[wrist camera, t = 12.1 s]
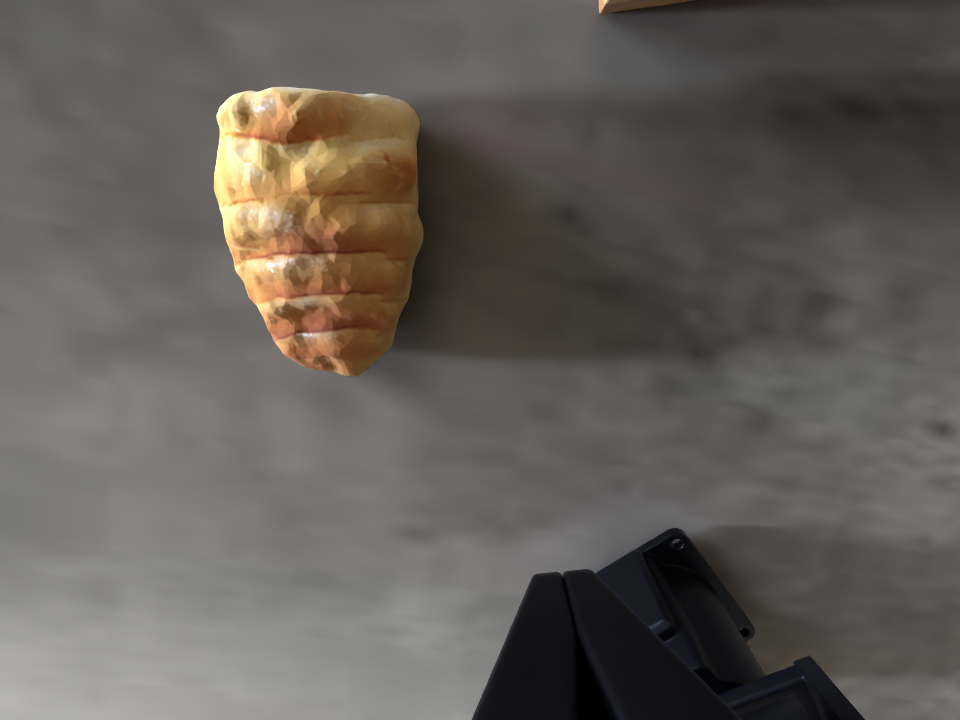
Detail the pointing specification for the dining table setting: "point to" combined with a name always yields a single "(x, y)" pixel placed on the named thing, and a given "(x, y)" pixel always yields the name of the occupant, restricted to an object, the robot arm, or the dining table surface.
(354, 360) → the pastry
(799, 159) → the dining table surface
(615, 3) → the caddy
